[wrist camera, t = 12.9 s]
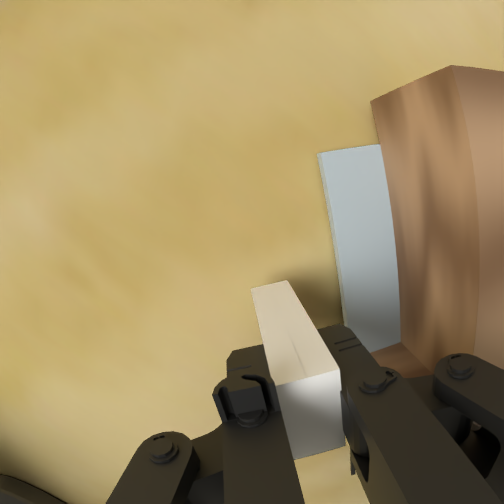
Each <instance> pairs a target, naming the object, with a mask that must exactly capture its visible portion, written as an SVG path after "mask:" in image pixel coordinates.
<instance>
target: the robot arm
mask: <svg viewBox="0 0 504 504" xmlns="http://www.w3.org/2000/svg"><path fill="white" fill-rule="evenodd" d="M251 293H252V297H253V302H254V306H255V310H256V315H257V319H258V323H259V328H260V332H261V336H262V341H263V344H261V345H257V346H252V347H248V348H243V349H239V350H234V351H232V353H231V354H230V356H229V357H228V359H227V378H225V379H224V380H222V381H221V382H220V383H219V384H218V385H217V386H216V387H215V388H214V391H213V394H212V396H213V399H214V401H215V404H216V407H217V409H218V412H219V415H220V417H221V420H222V424H221V425H220V426H219V427H218V428H216V429H215V430H214V431H212V432H210V433H208V434H206V435H203V436H201V437H198V438H195V439H193V440H190V439H189V438H188V437H187V436H185V435H184V434H183V433H178V432H174V431H172V432H162V433H159V434H156V435H153V436H151V437H150V438H148V439H146V440H145V441H144V442H143V443H142V444H141V445H140V446H139V447H138V449H137V451H136V452H135V454H134V456H133V457H132V459H131V461H130V463H129V464H128V466H127V468H126V469H125V471H124V473H123V475H122V476H121V478H120V480H119V482H118V483H117V485H116V487H115V488H114V490H113V492H112V494H111V495H110V497H109V499H108V500H107V502H106V504H305V502H304V498H303V494H302V491H301V487H300V483H299V479H298V475H297V471H296V467H295V463H294V460H295V459H299V458H303V457H307V456H311V455H315V454H319V453H322V452H326V451H329V450H333V449H336V448H340V447H343V446H345V436H346V438H347V441H348V443H349V445H350V462H351V475H354V474H355V470H356V472H357V475H358V477H359V479H360V482H361V484H362V486H363V488H364V491H365V493H366V495H367V498H368V500H369V502H370V504H504V370H503V369H501V368H499V367H497V366H495V365H493V364H491V363H489V362H487V361H485V360H483V359H481V358H479V357H477V356H474V355H471V354H468V353H456V354H451V355H448V356H446V357H444V358H442V359H440V360H439V361H438V362H437V363H436V366H435V369H434V374H433V375H427V376H421V377H414V378H403V377H402V376H401V374H399V373H398V372H397V371H395V370H394V369H391V368H388V367H380V365H379V364H378V363H377V361H376V360H375V359H374V358H373V356H372V355H371V354H370V353H369V351H368V350H367V349H366V348H365V346H364V345H362V343H361V341H360V340H359V339H358V338H357V336H356V335H355V334H354V332H353V331H352V330H351V329H350V328H348V327H345V326H343V325H341V324H336V325H332V326H329V327H325V328H321V329H318V330H317V329H316V328H315V326H314V324H313V323H312V321H311V319H310V318H309V316H308V314H307V313H306V311H305V309H304V307H303V306H302V304H301V302H300V301H299V299H298V297H297V296H296V294H295V292H294V291H293V289H292V287H291V286H290V284H289V282H288V281H287V280H285V281H281V282H277V283H272V284H268V285H264V286H259V287H255V288H251ZM473 421H474V422H476V423H477V424H479V425H480V426H477V425H475V424H473ZM0 504H65V503H63V502H61V501H60V500H58V499H56V498H54V497H52V496H51V495H49V494H47V493H45V492H43V491H41V490H39V489H37V488H35V487H33V486H31V485H29V484H26V483H24V482H22V481H19V480H17V479H14V478H11V477H8V476H5V475H1V474H0Z"/></svg>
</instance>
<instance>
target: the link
mask: <svg viewBox="0 0 504 504" xmlns="http://www.w3.org/2000/svg"><path fill="white" fill-rule="evenodd" d="M370 103H371V107H372V111H373V115H374V119H375V124H376V128H377V133H378V137H379V142H380V147H381V152H382V157H383V162H384V168H385V174H386V180H387V186H388V192H389V199H390V205H391V213H392V220H393V229H394V237H395V247H396V257H397V269H398V283H399V301H400V331H401V342H399V343H397V344H394V345H391V346H388V347H385V348H382V349H380V350H377V351H374V352H371V353H370V354H371V355H372V356H373V358H374V359H375V360H376V361H377V363H378V364H379V365H380V367H388V368H391V369H394V370H395V371H397V372H398V373H399V374H401V376H402V377H403V378H414V377H421V376H427V375H433V374H434V369H435V366H436V363H437V362H438V361H439V360H440V359H442V358H444V357H446V356H448V355H451V354H456V353H468V354H471V355H474V356H477V357H479V358H481V359H483V360H485V361H487V362H489V363H491V364H493V365H495V366H497V367H499V368H501V369H503V370H504V72H502V71H496V70H489V69H482V68H474V67H465V66H454V65H450V66H448V67H445V68H443V69H441V70H438V71H436V72H434V73H431V74H429V75H427V76H424V77H422V78H420V79H417V80H415V81H413V82H411V83H408V84H406V85H404V86H402V87H400V88H398V89H395V90H393V91H391V92H389V93H387V94H385V95H382V96H380V97H378V98H376V99H374V100H372V101H370ZM473 422H474V421H473Z"/></svg>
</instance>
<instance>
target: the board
mask: <svg viewBox="0 0 504 504" xmlns="http://www.w3.org/2000/svg"><path fill="white" fill-rule="evenodd" d="M317 158H318V163H319V167H320V172H321V177H322V183H323V188H324V193H325V198H326V204H327V210H328V215H329V221H330V227H331V233H332V239H333V246H334V252H335V259H336V265H337V272H338V280H339V287H340V295H341V303H342V311H343V320H344V326H345V327H348V328H350V329H351V330H352V331H353V332H354V334H355V335H356V336H357V338H358V339H359V340H360V341H361V343H362V345H364V346H365V348H366V349H367V350H368V351H369V353H371V352H374V351H377V350H380V349H382V348H385V347H388V346H391V345H394V344H397V343H399V342H401V331H400V301H399V283H398V269H397V257H396V247H395V237H394V229H393V220H392V213H391V205H390V199H389V192H388V186H387V180H386V174H385V168H384V162H383V157H382V152H381V147H380V144H376V145H368V146H361V147H354V148H347V149H341V150H335V151H328V152H322V153H318V154H317Z"/></svg>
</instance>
